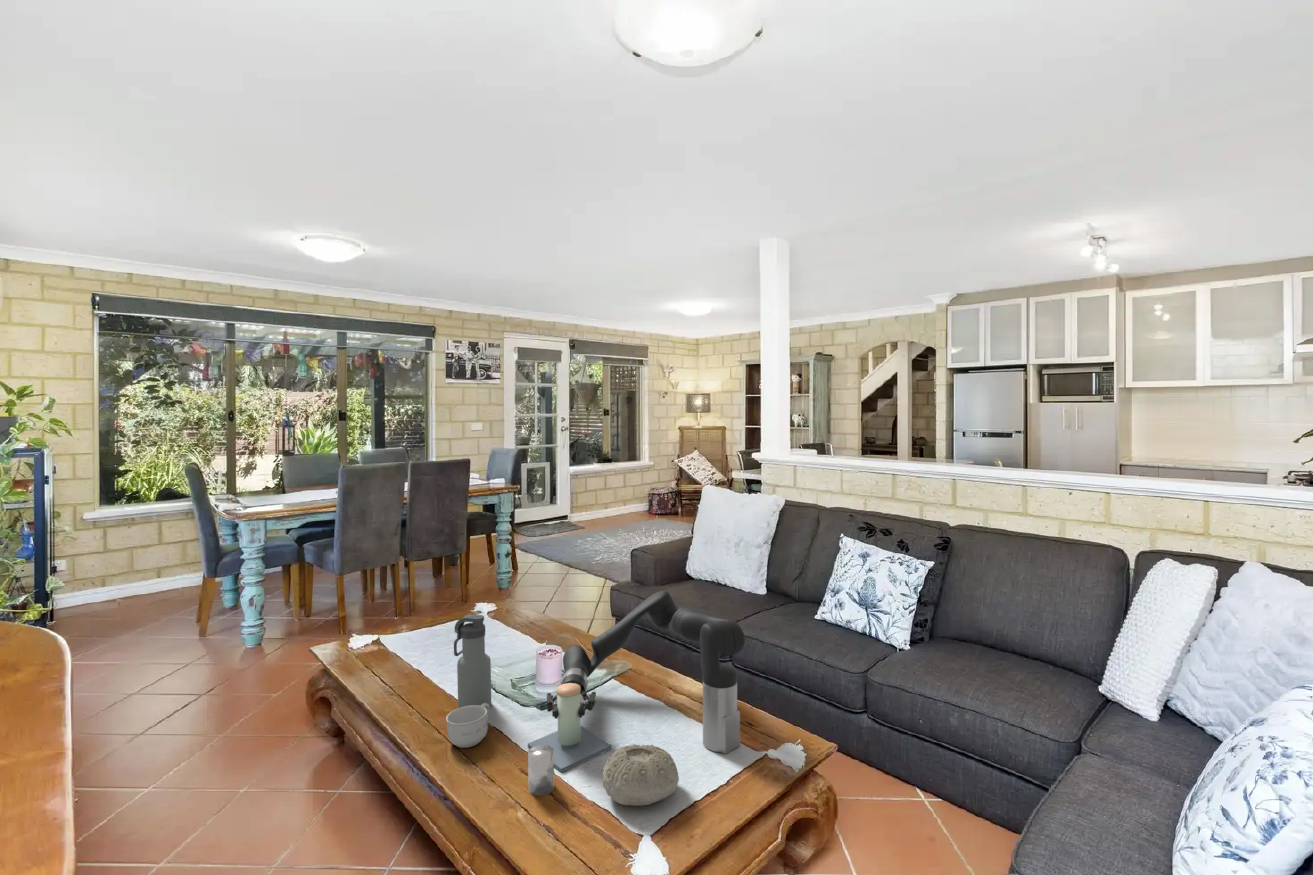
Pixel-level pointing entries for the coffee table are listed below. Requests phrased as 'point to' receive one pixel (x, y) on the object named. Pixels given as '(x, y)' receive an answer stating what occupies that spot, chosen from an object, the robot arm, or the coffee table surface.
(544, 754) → the steel tin
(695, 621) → the robot arm
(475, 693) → the water bottle
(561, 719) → the sage tin
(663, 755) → the decorative shell
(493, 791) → the coffee table surface
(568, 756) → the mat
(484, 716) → the teacup
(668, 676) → the coffee table surface
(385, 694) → the coffee table surface
